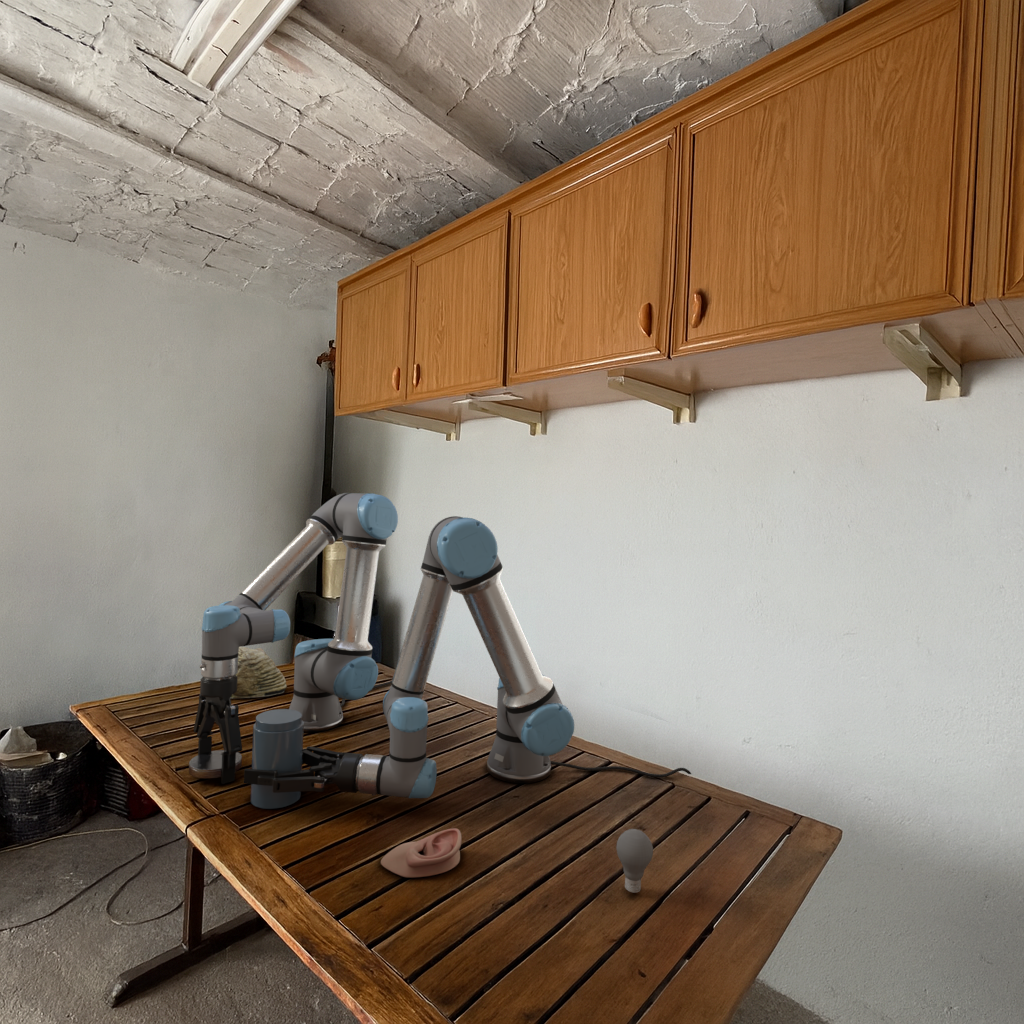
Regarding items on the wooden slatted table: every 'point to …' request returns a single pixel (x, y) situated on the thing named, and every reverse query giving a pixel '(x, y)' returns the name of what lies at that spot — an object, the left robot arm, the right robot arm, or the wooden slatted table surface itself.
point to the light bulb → (634, 857)
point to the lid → (210, 764)
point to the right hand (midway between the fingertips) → (257, 765)
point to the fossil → (257, 675)
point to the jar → (276, 753)
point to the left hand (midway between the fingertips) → (215, 773)
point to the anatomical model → (425, 855)
